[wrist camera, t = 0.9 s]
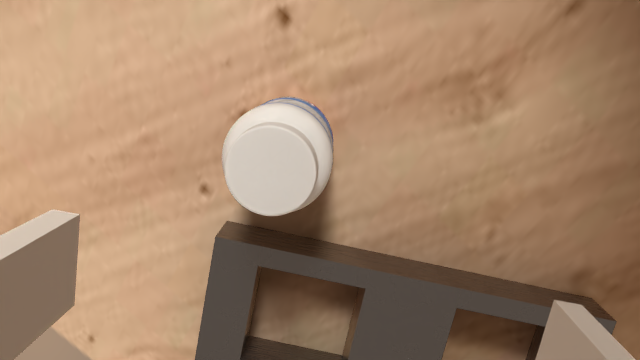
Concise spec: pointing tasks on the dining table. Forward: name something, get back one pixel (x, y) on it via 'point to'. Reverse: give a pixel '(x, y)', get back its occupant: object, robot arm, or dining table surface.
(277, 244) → the grey bottle holder tray
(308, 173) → the pill bottle
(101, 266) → the dining table surface
